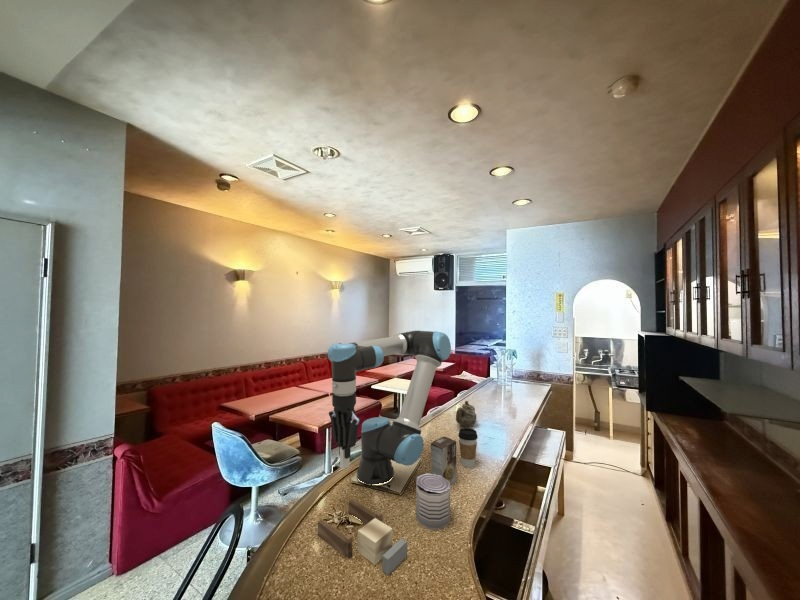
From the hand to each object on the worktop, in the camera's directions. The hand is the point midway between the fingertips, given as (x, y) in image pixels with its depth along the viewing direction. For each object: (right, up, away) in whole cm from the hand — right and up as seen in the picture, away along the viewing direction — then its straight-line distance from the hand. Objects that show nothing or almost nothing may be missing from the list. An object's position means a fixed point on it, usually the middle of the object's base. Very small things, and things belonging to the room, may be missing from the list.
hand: (344, 467), depth 98 cm
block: (+10, -19, -10) cm, 24 cm away
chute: (+2, -19, -3) cm, 19 cm away
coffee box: (+35, -20, +24) cm, 47 cm away
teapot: (+56, -21, +82) cm, 102 cm away
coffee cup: (+48, -20, +39) cm, 65 cm away
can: (+29, -19, +4) cm, 35 cm away
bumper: (+16, -18, -14) cm, 28 cm away
